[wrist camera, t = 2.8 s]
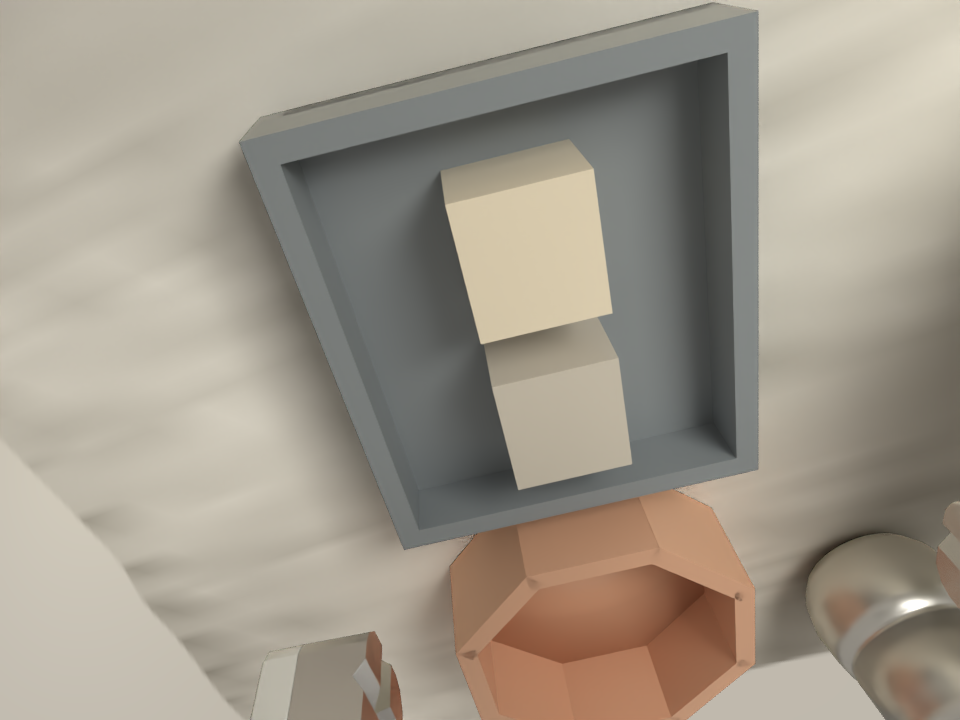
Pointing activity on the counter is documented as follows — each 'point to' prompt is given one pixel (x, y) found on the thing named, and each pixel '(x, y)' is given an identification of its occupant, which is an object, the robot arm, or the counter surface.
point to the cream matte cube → (560, 402)
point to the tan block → (528, 240)
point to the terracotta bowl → (603, 613)
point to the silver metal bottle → (890, 624)
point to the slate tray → (627, 244)
